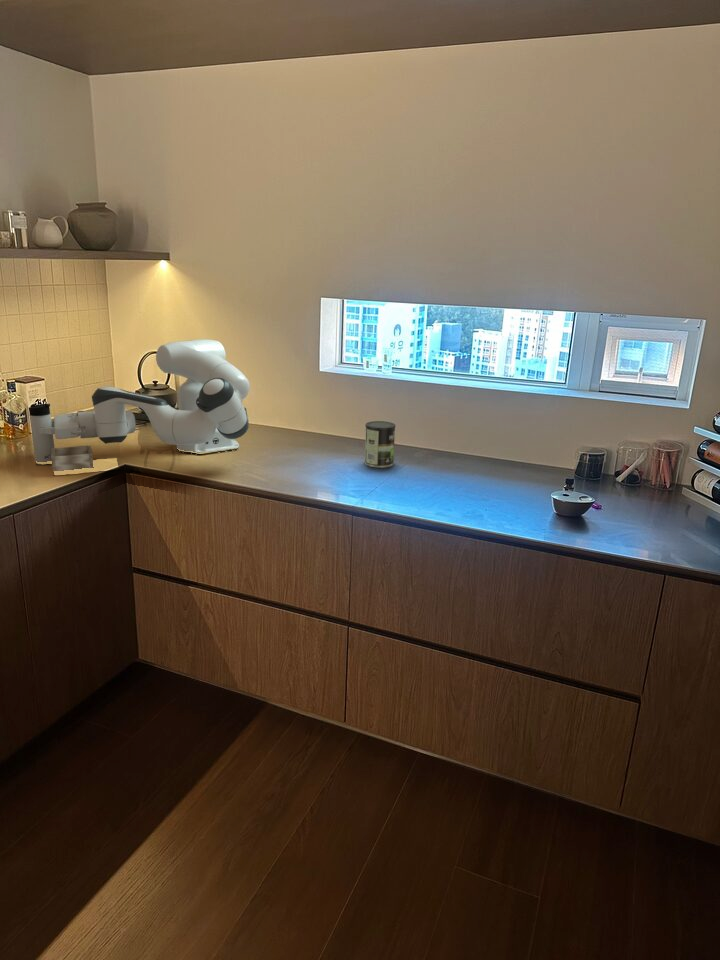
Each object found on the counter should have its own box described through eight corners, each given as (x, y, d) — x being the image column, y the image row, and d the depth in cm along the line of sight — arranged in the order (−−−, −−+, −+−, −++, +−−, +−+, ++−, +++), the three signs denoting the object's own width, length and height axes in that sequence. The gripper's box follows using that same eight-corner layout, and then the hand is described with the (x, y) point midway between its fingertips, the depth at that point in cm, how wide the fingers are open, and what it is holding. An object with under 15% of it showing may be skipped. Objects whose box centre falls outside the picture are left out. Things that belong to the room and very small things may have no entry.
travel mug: (52, 465, 222) (44, 406, 216) (32, 465, 222) (24, 405, 216) (60, 460, 228) (53, 402, 222) (41, 459, 228) (33, 401, 222)
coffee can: (395, 460, 239) (397, 421, 235) (391, 469, 229) (392, 428, 225) (367, 458, 241) (368, 419, 236) (361, 466, 231) (362, 426, 227)
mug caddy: (117, 460, 230) (115, 443, 228) (120, 470, 220) (118, 452, 218) (53, 465, 222) (51, 448, 220) (53, 476, 212) (51, 458, 210)
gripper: (86, 441, 218) (40, 445, 213) (84, 427, 236) (40, 430, 231) (84, 423, 216) (37, 426, 211) (82, 409, 234) (38, 411, 229)
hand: (39, 428), depth 221 cm, fingers closed on travel mug, 6 cm apart
